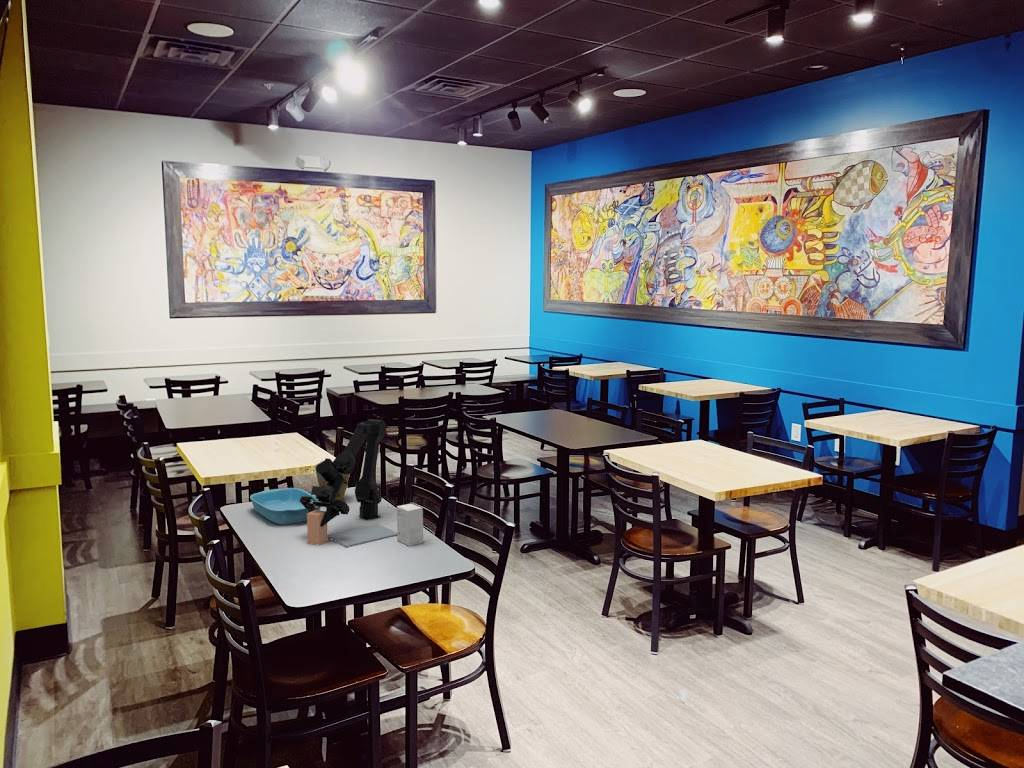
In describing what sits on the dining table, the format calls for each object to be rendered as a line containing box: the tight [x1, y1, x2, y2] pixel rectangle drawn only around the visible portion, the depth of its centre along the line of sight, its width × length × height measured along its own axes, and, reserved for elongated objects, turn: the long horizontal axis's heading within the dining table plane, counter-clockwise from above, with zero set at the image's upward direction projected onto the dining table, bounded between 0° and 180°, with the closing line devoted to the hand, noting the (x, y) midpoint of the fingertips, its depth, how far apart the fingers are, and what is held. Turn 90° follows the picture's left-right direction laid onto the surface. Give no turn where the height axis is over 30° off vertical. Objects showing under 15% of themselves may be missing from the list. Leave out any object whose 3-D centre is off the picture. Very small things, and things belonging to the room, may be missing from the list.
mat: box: [327, 523, 397, 548], centre depth 289 cm, size 22×16×1 cm
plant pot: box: [314, 460, 350, 501], centre depth 334 cm, size 15×15×16 cm
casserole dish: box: [249, 487, 321, 525], centre depth 315 cm, size 37×22×7 cm, turn 37°
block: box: [306, 509, 329, 545], centre depth 281 cm, size 5×5×11 cm
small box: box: [396, 503, 424, 547], centre depth 282 cm, size 8×6×13 cm
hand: (314, 525), depth 280 cm, fingers closed on block, 5 cm apart
